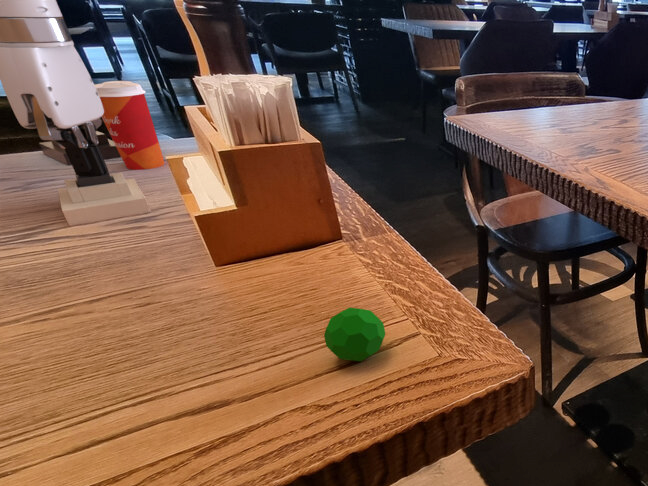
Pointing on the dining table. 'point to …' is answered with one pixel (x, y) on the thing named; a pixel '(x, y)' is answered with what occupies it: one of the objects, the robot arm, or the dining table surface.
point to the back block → (59, 154)
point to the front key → (94, 180)
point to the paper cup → (130, 125)
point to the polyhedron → (354, 334)
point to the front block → (101, 200)
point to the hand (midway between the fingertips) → (93, 174)
